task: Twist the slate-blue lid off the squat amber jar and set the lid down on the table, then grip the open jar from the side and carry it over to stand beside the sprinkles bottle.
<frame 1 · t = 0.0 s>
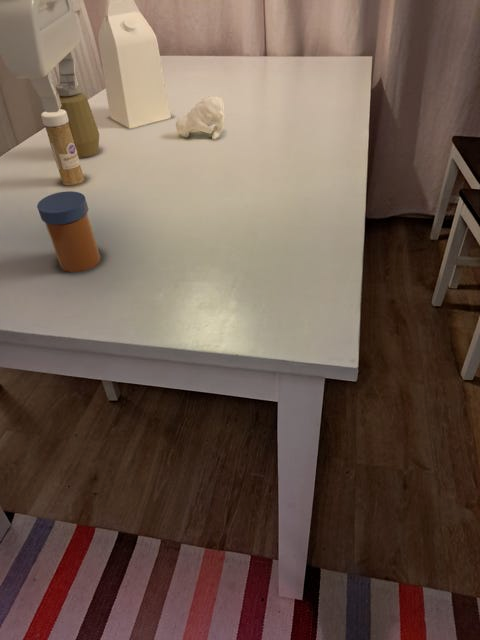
hand: (63, 99, 60), 22 cm above the table, tool pointing down, fingers open, 8 cm apart
milk: (140, 118, 123), on the table
squeeze bottle: (85, 154, 105), on the table
white lumpy piece: (202, 136, 111), on the table
lid: (62, 204, 65), point 10 cm above the table, screwed on, not yet turned
sprinkles bottle: (73, 182, 94), on the table
jar: (80, 261, 71), on the table
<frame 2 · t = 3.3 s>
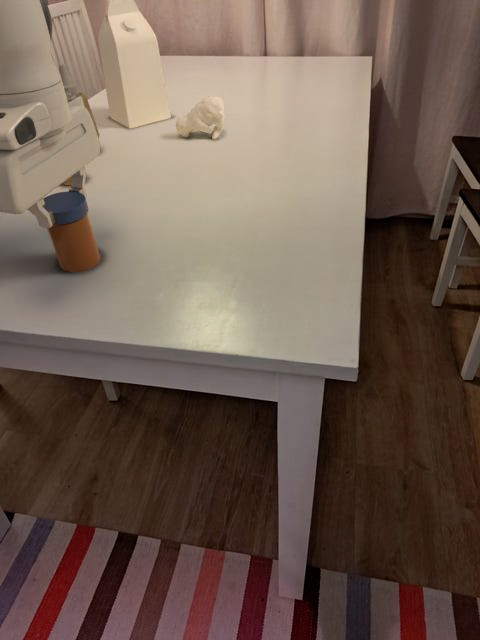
hand: (64, 212, 66), 8 cm above the table, tool pointing down, fingers closed on lid, 6 cm apart
lid: (62, 204, 65), point 10 cm above the table, screwed on, not yet turned, touching gripper
everything else where it was.
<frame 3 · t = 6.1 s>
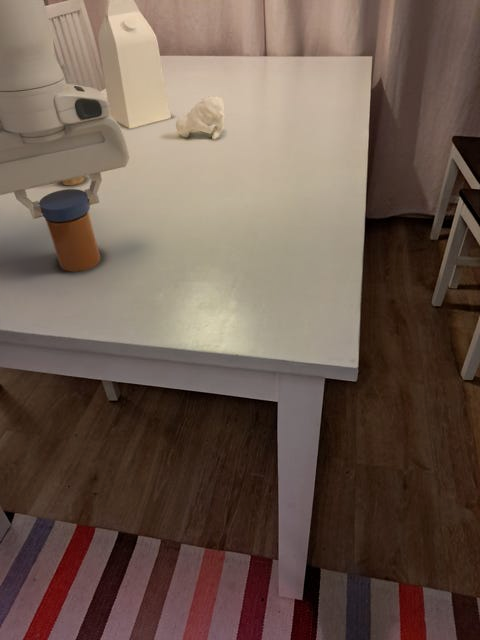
hand: (66, 209, 66), 9 cm above the table, tool pointing down, fingers closed on lid, 6 cm apart
lid: (63, 201, 65), point 10 cm above the table, off its thread, touching gripper, jar
jar: (80, 261, 71), on the table, touching lid
everything else where it was.
when the fingers open (0 cm above the table, at t = 15.6 s): lid stays where it is, point 1 cm above the table.
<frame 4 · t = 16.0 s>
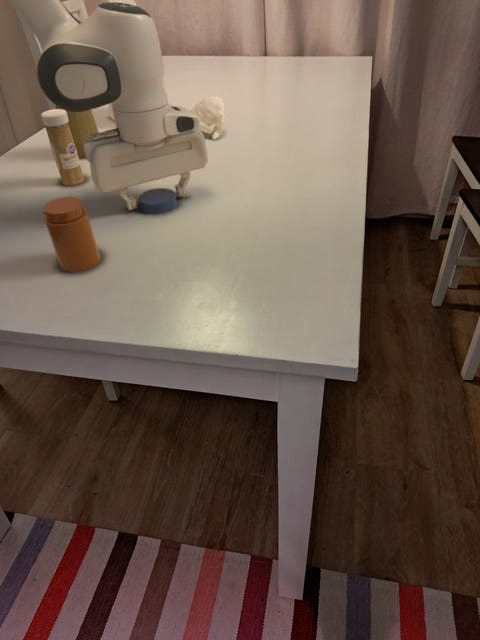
hand: (157, 201, 84), 1 cm above the table, tool pointing down, fingers open, 8 cm apart
lid: (157, 198, 83), point 1 cm above the table, off its thread
jar: (80, 261, 71), on the table
everything else where it was.
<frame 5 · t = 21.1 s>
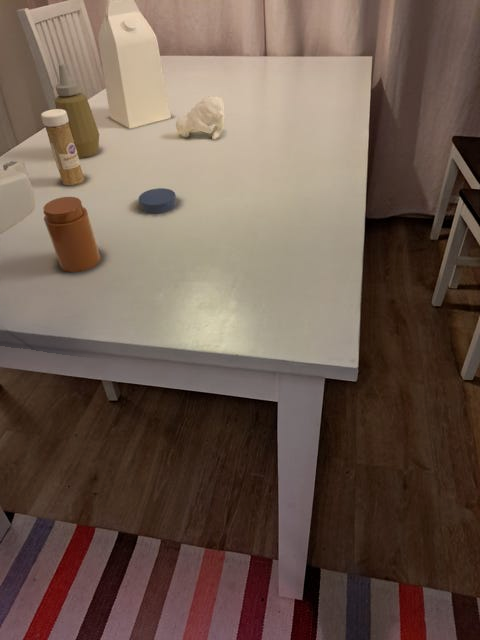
nothing on the table moved.
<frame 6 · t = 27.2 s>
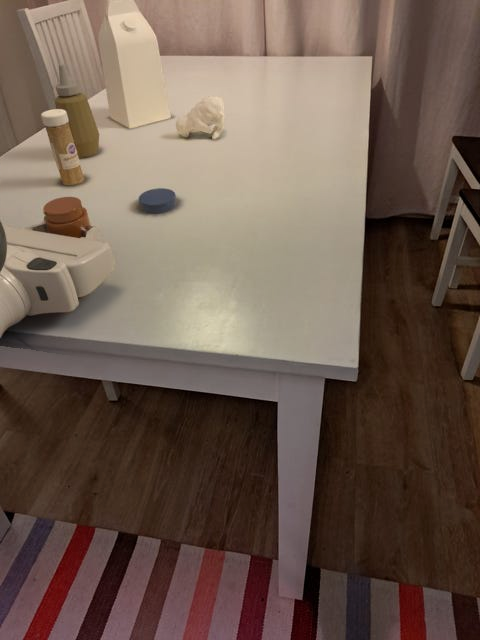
hand: (74, 227, 68), 6 cm above the table, tool horizontal, fingers closed on jar, 6 cm apart
jar: (80, 261, 71), on the table, touching gripper
everything else where it was.
when the fingers open (5 cm above the table, at t = 35.5 s): jar stays where it is, on the table.
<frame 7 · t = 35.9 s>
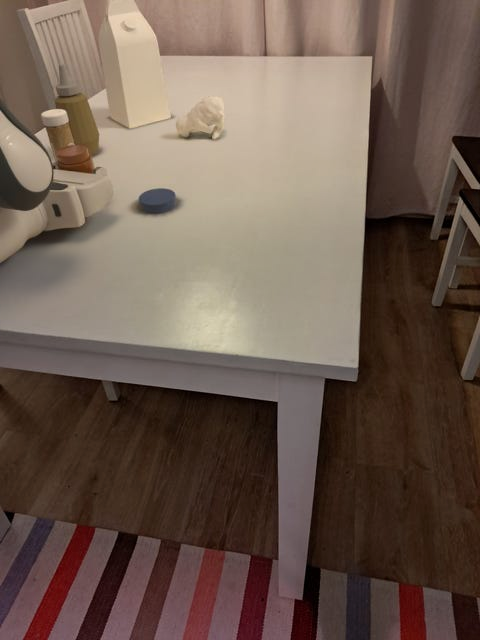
hand: (80, 168, 84), 6 cm above the table, tool horizontal, fingers open, 8 cm apart
jar: (86, 200, 87), on the table
everything else where it was.
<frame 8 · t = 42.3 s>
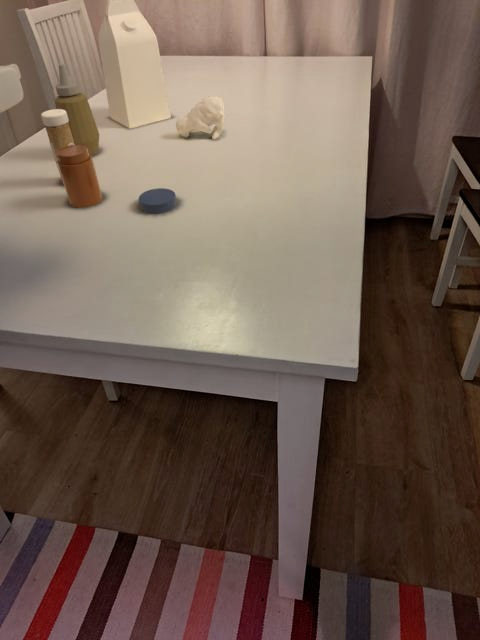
nothing on the table moved.
at the end: lid point 1.4 cm above the table; jar inside the target area on the table beside the sprinkles bottle (0.1 cm from its centre), on the table; jar tilted 0° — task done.
